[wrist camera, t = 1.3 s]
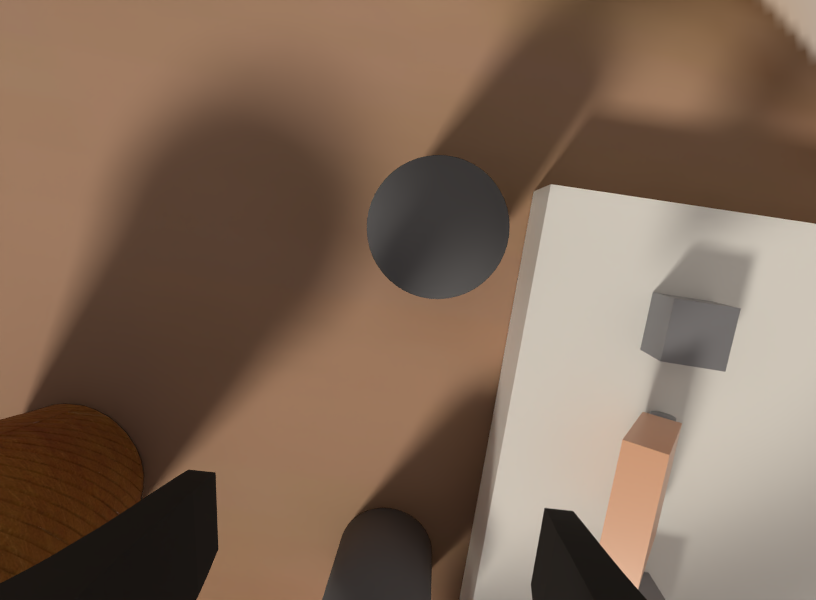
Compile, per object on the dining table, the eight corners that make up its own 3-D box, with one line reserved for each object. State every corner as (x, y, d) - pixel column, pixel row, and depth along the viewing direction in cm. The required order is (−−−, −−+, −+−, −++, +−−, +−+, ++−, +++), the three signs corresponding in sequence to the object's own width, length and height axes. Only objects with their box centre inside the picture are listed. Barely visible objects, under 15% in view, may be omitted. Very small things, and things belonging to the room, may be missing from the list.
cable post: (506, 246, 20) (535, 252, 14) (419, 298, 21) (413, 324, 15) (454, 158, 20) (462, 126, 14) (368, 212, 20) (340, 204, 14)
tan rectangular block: (684, 418, 17) (669, 454, 14) (658, 527, 18) (637, 590, 14) (646, 407, 18) (622, 439, 14) (622, 513, 18) (593, 570, 15)
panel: (847, 238, 20) (973, 240, 15) (735, 656, 22) (813, 767, 17) (533, 191, 20) (562, 179, 15) (457, 607, 22) (463, 703, 18)
